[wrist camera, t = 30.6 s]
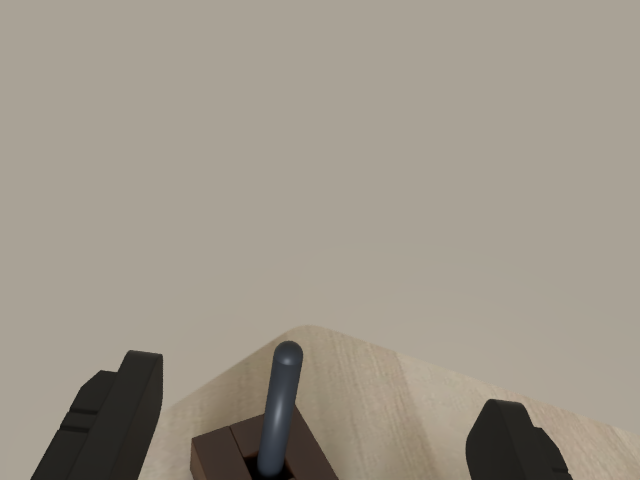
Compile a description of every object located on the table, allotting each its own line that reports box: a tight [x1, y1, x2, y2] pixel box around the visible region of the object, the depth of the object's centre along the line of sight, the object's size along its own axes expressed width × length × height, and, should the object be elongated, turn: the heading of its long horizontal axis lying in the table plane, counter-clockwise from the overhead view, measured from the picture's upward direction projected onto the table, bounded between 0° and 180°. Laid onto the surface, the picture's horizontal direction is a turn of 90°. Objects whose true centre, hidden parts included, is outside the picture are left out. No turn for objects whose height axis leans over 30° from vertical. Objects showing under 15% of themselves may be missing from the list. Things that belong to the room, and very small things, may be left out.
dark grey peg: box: [254, 341, 303, 480], centre depth 31 cm, size 2×2×13 cm
